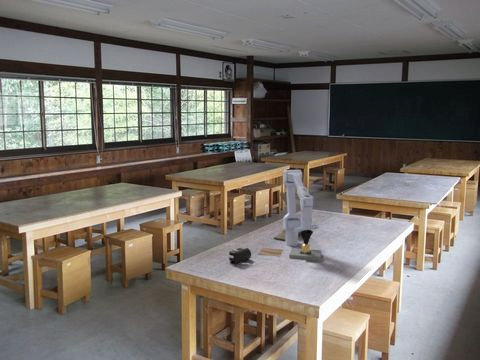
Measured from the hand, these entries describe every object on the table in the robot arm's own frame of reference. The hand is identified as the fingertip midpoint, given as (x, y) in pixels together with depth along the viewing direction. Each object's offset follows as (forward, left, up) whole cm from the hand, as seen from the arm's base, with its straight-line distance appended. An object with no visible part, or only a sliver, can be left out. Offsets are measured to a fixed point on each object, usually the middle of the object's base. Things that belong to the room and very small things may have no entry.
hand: (305, 243), depth 250 cm
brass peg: (0, 0, -7) cm, 7 cm away
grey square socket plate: (0, 0, -7) cm, 7 cm away
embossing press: (-37, -14, -8) cm, 40 cm away
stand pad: (-1, -19, -7) cm, 20 cm away
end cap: (+17, -32, -8) cm, 37 cm away
